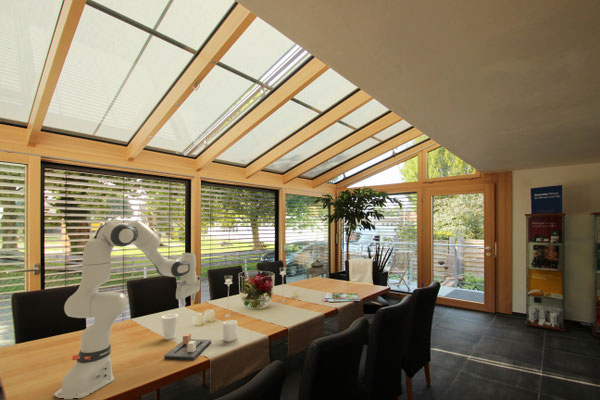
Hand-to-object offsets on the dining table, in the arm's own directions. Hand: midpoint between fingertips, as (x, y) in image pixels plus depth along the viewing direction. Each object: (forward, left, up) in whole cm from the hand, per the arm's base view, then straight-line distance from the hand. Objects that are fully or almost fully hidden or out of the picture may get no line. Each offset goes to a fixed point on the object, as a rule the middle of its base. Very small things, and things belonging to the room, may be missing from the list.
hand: (188, 302), depth 182 cm
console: (-11, -6, -23) cm, 26 cm away
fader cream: (-16, -10, -22) cm, 29 cm away
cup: (+9, -22, -23) cm, 34 cm away
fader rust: (-6, -2, -22) cm, 23 cm away
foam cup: (+7, +16, -23) cm, 29 cm away
